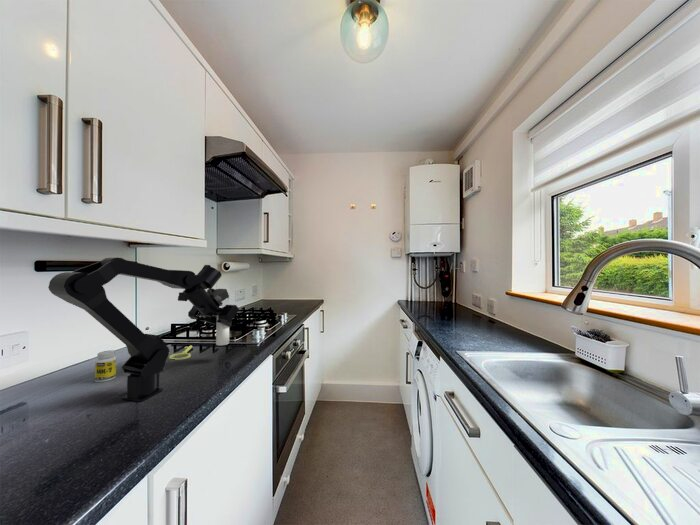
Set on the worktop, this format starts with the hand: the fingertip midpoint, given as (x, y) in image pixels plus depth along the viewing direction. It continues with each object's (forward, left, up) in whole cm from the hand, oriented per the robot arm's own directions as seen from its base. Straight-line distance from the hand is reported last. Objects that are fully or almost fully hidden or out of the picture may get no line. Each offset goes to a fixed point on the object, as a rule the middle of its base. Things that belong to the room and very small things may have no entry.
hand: (225, 325), depth 97 cm
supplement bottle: (-22, +26, -13) cm, 36 cm away
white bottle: (-1, 0, -7) cm, 7 cm away
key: (+2, +20, -14) cm, 24 cm away
